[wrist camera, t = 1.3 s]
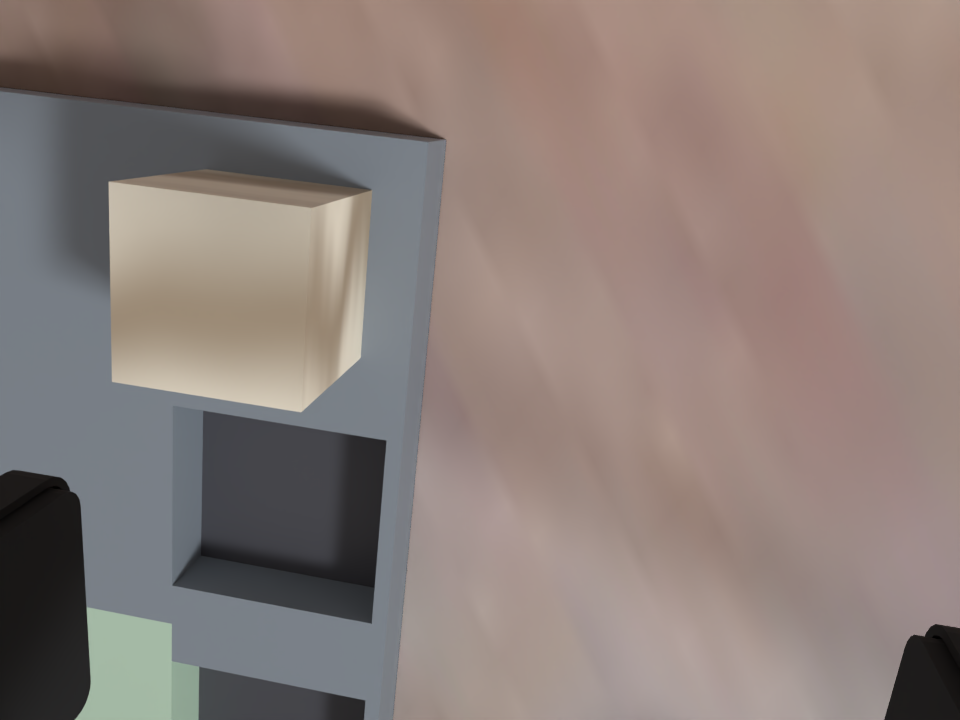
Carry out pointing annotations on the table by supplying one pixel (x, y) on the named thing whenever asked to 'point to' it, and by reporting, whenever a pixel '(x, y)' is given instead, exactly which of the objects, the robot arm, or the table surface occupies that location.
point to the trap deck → (217, 426)
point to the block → (236, 285)
